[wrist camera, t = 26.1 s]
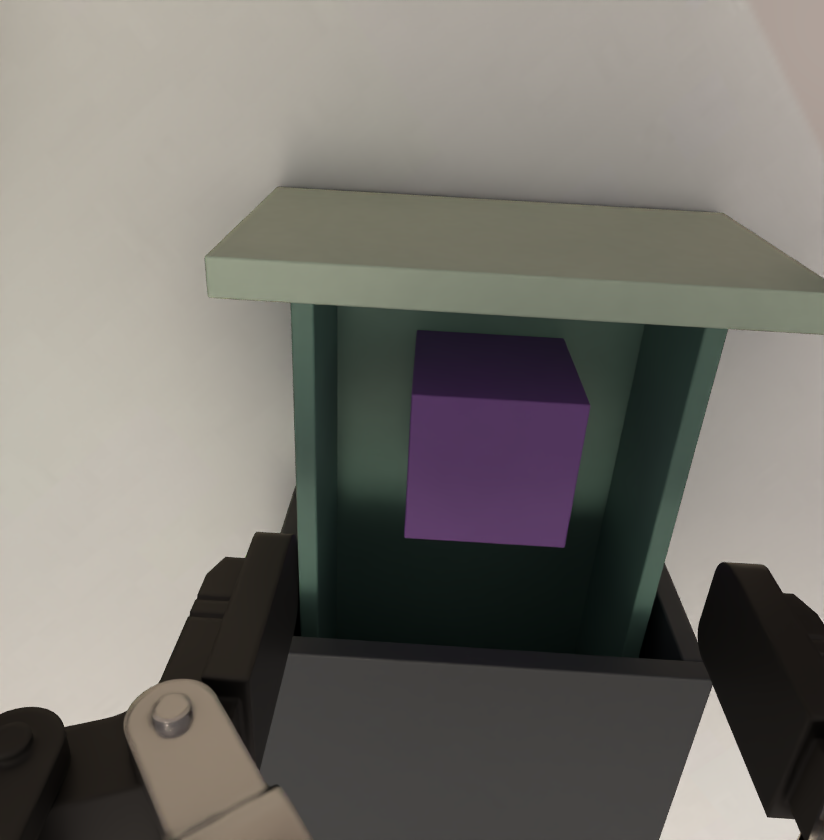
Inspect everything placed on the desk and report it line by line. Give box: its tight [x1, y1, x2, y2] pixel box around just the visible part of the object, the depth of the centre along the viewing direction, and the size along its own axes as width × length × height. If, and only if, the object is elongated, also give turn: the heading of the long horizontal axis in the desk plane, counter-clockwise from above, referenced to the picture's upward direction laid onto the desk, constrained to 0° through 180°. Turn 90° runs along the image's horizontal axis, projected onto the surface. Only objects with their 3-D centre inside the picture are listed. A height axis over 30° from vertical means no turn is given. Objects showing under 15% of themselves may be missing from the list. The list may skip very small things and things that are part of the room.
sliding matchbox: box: [205, 187, 824, 658], centre depth 21 cm, size 25×12×9 cm, turn 177°
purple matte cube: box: [404, 330, 590, 548], centre depth 19 cm, size 4×4×4 cm
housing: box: [260, 486, 712, 840], centre depth 24 cm, size 14×11×7 cm
